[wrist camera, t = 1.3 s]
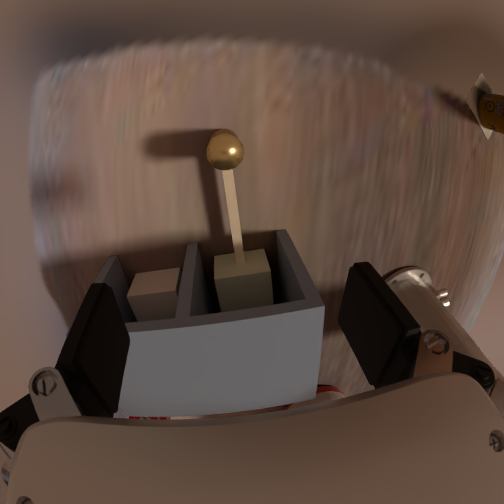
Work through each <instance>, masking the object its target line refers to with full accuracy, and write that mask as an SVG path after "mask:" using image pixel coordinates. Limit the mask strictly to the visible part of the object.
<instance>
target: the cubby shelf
mask: <svg viewBox="0 0 504 504" xmlns="http://www.w3.org/2000/svg"><path fill="white" fill-rule="evenodd" d="M276 237H277V252H278V266H279V282H280V298H281V304H275V305H268V306H262V307H256V308H249V309H242V310H236V311H229V312H221V313H214V311H213V307H212V303H211V299H210V295H209V291H208V286H207V282H206V278H205V274H204V269H203V265H202V260H201V256H200V251H199V247H198V242H197V243H191V244H188V245H187V250H186V255H185V261H184V266H183V272H182V278H181V283H180V289H179V296H178V302H177V308H176V315H175V318H172V319H163V320H153V321H143V322H138V321H137V319H136V317H135V315H134V313H133V310H132V308H131V306H130V303H129V301H128V299H127V294H128V292H129V289H130V288H129V286H128V283H127V280H126V278H125V275H124V272H123V270H122V267H121V264H120V262H119V259H118V256H117V255H116V256H110V257H109V258H108V259H107V261H106V263H105V264H104V266H103V268H102V269H101V271H100V273H99V274H98V276H97V278H96V280H95V281H94V283H106V284H107V285H108V286H111V287H112V289H113V292H114V295H115V298H116V301H117V304H118V307H119V309H120V312H121V315H122V318H123V320H124V323H125V326H126V328H127V331H128V333H129V336H130V346H129V351H128V356H127V361H126V366H125V371H124V376H123V382H122V387H121V393H120V399H119V405H118V407H119V408H120V409H121V410H122V412H123V413H124V414H125V415H126V416H136V417H174V416H197V415H211V414H222V413H232V412H241V411H249V410H256V409H262V408H269V407H275V406H281V405H286V404H291V403H296V402H301V401H306V400H311V399H315V398H316V391H317V383H318V375H319V366H320V357H321V347H322V336H323V324H324V311H325V305H324V303H323V301H322V299H321V297H320V295H319V293H318V291H317V289H316V287H315V285H314V283H313V281H312V279H311V277H310V275H309V273H308V271H307V269H306V267H305V265H304V263H303V261H302V259H301V257H300V255H299V253H298V252H297V250H296V248H295V246H294V244H293V242H292V240H291V238H290V236H289V234H288V233H287V231H286V230H279V231H276ZM76 315H77V314H76ZM75 317H76V316H75ZM74 320H75V318H74ZM74 320H73V322H74ZM73 322H72V324H73ZM72 324H71V326H72ZM71 326H70V328H69V330H68V332H67V335H66V336H68V333H69V331H70V329H71Z"/></svg>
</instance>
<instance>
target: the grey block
mask: <svg viewBox="0 0 504 504" xmlns="http://www.w3.org/2000/svg"><path fill="white" fill-rule="evenodd" d="M181 278H182V273H181V269H180V267H178V268H171V269H164V270H157V271H150V272H143V273H136V274H135V277H134V279H133V282H132V284H131V287H130V289H129V292H128V294H127V299H128V301H129V303H130V306H131V308H132V310H133V313H134V315H135V317H136V319H137V321H138V322H143V321H153V320H163V319H172V318H175V315H176V308H177V302H178V296H179V289H180V283H181Z"/></svg>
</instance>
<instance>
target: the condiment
mask: <svg viewBox="0 0 504 504" xmlns="http://www.w3.org/2000/svg"><path fill="white" fill-rule="evenodd" d="M465 101H466V103H467V104H468V105H469V107H470V109H471V110H472V112H473V114H474V115H475V117H476V119H477V121H478V123H479V125H480V127H481V128H482V130H483V132H484V134H485V136H486V138H487V139H488V140H489V138H490V136H491V134H492V131H496V132H500V133H503V134H504V96H502V95H496V94H493V92H492V90H491V88H490V87H489V85H488V83H487V81H486V79H485V77H484V76H483V74H482V73H481V74H480V76H479V78H478V79H477V81H476V82H475V84H474V86H473V88H472V89H471V92H470V93H469V95H468V97H467V99H466V100H465Z"/></svg>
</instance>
